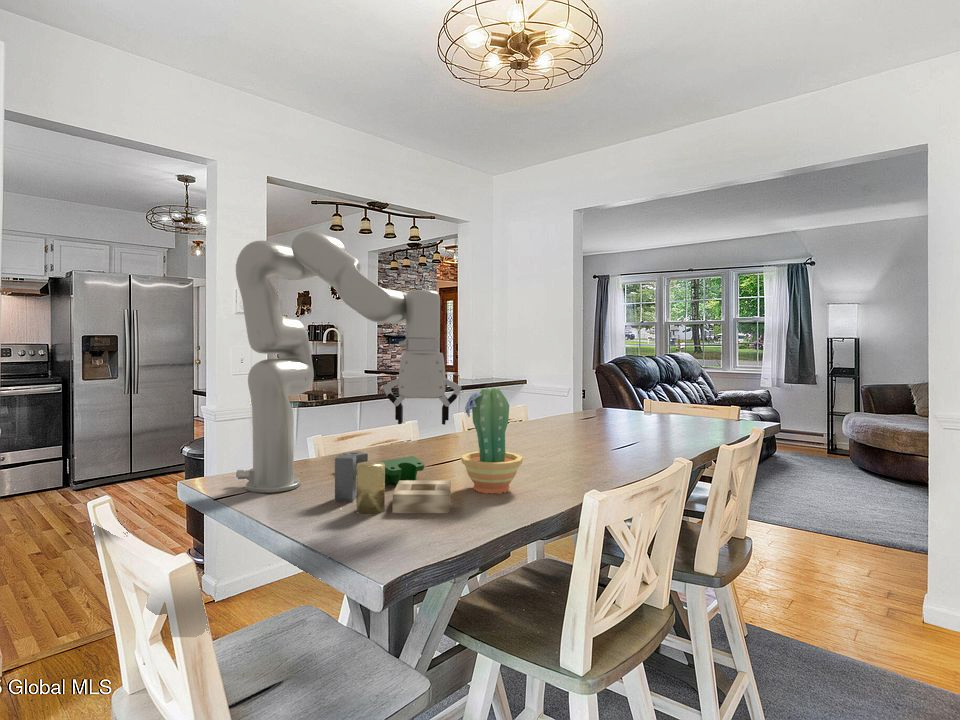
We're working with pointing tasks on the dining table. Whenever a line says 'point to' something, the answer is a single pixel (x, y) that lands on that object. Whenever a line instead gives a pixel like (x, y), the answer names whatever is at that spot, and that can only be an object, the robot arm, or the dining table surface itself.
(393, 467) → the clamp
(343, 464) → the square bit
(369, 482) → the round bit
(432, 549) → the dining table surface
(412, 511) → the socket block
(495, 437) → the potted cactus
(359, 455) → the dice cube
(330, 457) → the dining table surface
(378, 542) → the dining table surface
